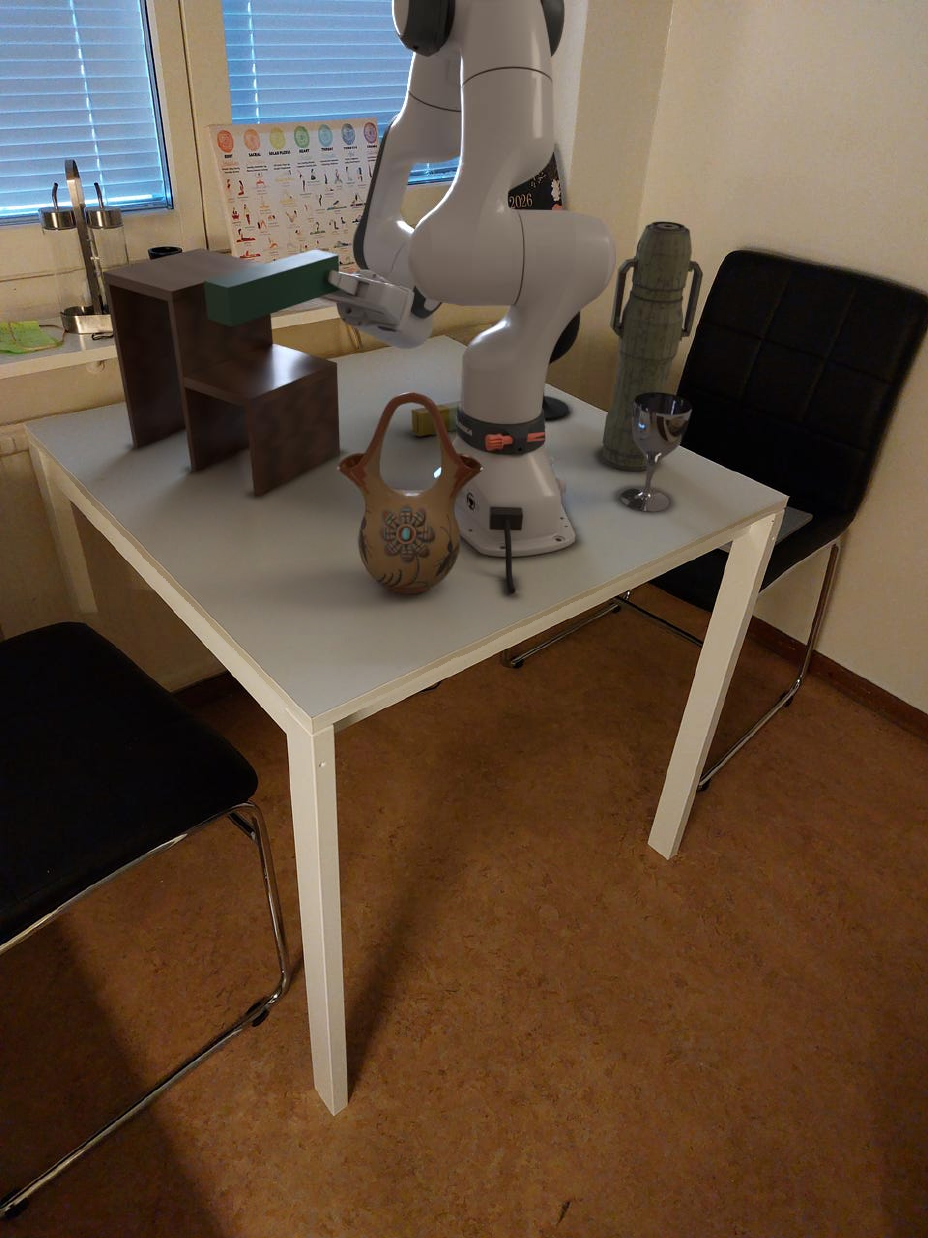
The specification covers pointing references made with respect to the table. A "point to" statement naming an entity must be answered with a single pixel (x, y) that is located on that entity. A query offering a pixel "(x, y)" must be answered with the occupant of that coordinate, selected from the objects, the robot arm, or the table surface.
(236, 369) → the step shelf
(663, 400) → the wine glass
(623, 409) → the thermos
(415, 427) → the medication box
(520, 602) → the table surface
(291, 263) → the carton
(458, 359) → the table surface
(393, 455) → the table surface
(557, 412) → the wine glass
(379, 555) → the ceramic vessel
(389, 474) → the table surface
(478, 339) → the robot arm
